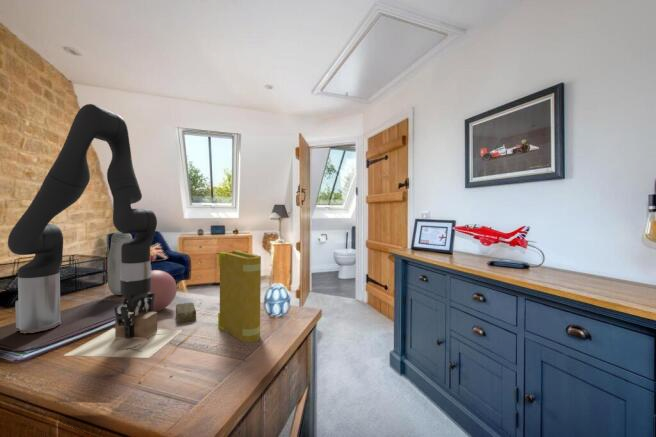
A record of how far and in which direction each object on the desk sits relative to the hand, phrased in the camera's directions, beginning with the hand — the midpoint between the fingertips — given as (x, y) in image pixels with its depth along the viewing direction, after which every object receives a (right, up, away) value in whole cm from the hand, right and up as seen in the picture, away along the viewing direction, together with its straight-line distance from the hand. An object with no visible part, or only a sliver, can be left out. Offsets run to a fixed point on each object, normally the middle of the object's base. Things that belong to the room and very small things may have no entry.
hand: (136, 333), depth 83 cm
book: (+29, -2, +6) cm, 30 cm away
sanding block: (0, 0, 0) cm, 1 cm away
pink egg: (-11, -1, +24) cm, 26 cm away
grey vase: (-35, 0, +41) cm, 54 cm away
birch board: (+1, -2, -4) cm, 5 cm away
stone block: (+7, -2, +15) cm, 17 cm away
